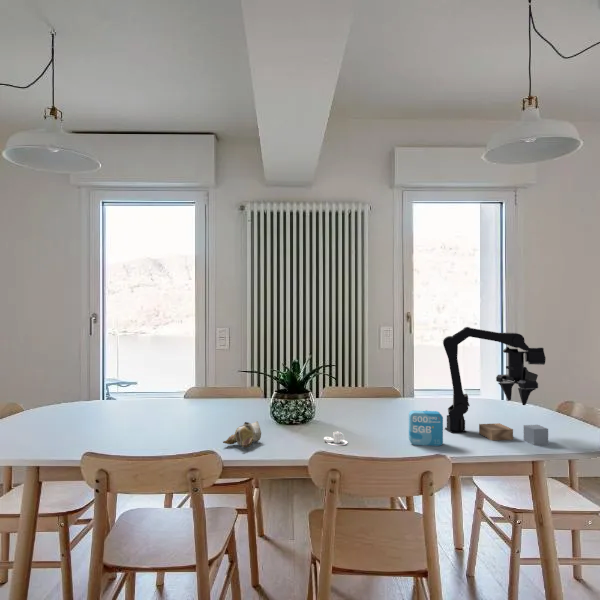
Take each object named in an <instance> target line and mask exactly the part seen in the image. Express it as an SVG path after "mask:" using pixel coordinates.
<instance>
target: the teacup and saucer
mask: <svg viewBox="0 0 600 600" xmlns="http://www.w3.org/2000/svg"><path fill="white" fill-rule="evenodd" d="M332 434H333V437H331V436H324V437H323V441H324V442H326V443H327V444H328V445H330V446H336V447H337V446H344V445H348V443H349V442H348V441H347V440H346V439H345V435H344V434H343V433H342V432H341V431H333V432H332ZM342 436H343V437H342ZM333 442H334V443H335V444H334V443H333ZM342 442H344V443H342Z"/></svg>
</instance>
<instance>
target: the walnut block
mask: <svg viewBox="0 0 600 600" xmlns="http://www.w3.org/2000/svg"><path fill="white" fill-rule="evenodd" d="M478 431H479V432H478V434H479V435H480V434H481V435H480V436H482V435H483V436H482V437H484V436H485V438H486V437H487V438H486V439H488V440H490V441H507V440H508V441H510V440H511V441H512V440H514V429H513V428H511V427H508V426H507V425H504V424H502V423H499V422H498V423H479V424H478Z"/></svg>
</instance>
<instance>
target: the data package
mask: <svg viewBox="0 0 600 600" xmlns="http://www.w3.org/2000/svg"><path fill="white" fill-rule="evenodd" d="M408 439H409V442H410V444H411V445H413V446H430V447H431V446H432V447H440V446H442V445H443V443H444V417H443V415H442V414H441V413H440V412H439V411H437V410H410V411H409V413H408Z"/></svg>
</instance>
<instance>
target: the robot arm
mask: <svg viewBox="0 0 600 600" xmlns="http://www.w3.org/2000/svg"><path fill="white" fill-rule="evenodd" d="M468 338H475V339H476V338H477V339H481V340H487V341H493V342H498V343H501V344H502V345H503V344H504V345H506V347H505V348H504V349H503V350H502V352H503V353H504V354H507V358H508V359H507V363H508V364H507V365H506V366H505V369H507V371H508V374H507V373H506V374H497V375H496V377H495V379H496V380H495V382H498V383H497V384H498V385H499V386H500V388H501V389H502V391H503V394H504V395H505V397H506V399H507V401H511V400H512V394H513V393H512V391H513V390H512V389H513V386H514V385H515V384H516V385H518V388H517V390H518V394H519V397H520V401H521V404H522V405H523V406H526V405H527V402H528V400H529V397H530V395H531V393H532V392H533V391H536V389H538V388H539V383H538V381H537V379H538V376H539V375H538V374H536V373H534V372H531V371H529V369H528V368H527V366H525V364H524V363H527V365H538V366H539V365H540V366H541V365H543V366H544V365H545V364H546V356H545V350H544V347H529V345H527V344H526V342H525V337H524V336H523V335H522V334H520V333H518V332H496V331H489V330H486V329H485V330H484V329H478V328H473V327H470V326H465V327H464V328H462V329H461V330H460V331H458V332H456V333H455V334H453V335H448V336H446V337H444V338H443V340H442V345H443V348H444V350H445V353H446V356H447V359H448V366H449V372H450V378H451V384H452V390H453V391H452V404H451V405H450V406H449V407H448V408H447V413H448V414H447V415H446V427H444V430H446V431H447V432H450V433H451V434H458V433H460V434H461V433H467V430H466V420H465V416H464V415H465V414H466V413H467V412H468V411H469V407H470V405H471V404H470V403H469V396H468V393H464V391H463V386H462V378H461V372H460V367H459V360H458V354H459V351H458V350H459V347H458V346H459V344H461V343H463V342H464V341H465V340H467V339H468ZM509 346H510V347H512V348H510V347H509ZM518 348H519V349H520V350H521V351H520V350H519V349H518Z"/></svg>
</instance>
